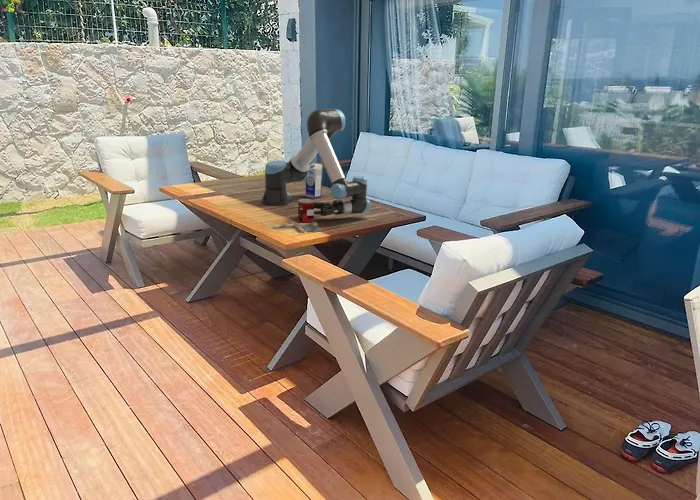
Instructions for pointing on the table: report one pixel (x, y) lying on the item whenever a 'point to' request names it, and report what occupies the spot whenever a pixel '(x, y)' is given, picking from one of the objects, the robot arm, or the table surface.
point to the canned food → (305, 210)
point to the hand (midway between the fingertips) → (302, 209)
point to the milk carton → (314, 181)
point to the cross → (299, 226)
